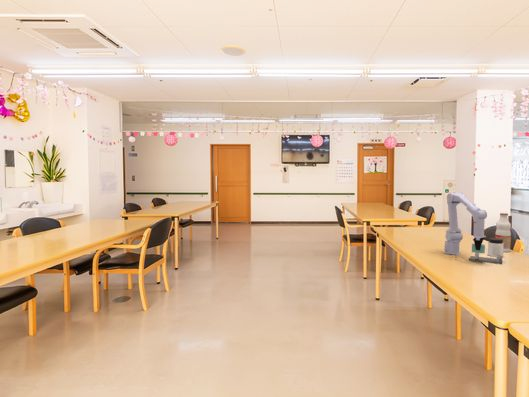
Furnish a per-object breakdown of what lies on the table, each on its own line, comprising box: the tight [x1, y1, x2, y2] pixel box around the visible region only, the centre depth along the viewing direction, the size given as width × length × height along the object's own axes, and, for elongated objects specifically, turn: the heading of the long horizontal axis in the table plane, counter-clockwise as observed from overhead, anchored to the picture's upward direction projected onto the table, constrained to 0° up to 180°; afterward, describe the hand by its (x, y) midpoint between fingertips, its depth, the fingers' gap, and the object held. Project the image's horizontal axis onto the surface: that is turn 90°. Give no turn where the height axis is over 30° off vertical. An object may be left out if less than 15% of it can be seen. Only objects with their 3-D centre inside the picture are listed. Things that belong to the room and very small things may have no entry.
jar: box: [487, 237, 504, 258], centre depth 240 cm, size 9×8×12 cm
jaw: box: [474, 253, 480, 259], centre depth 231 cm, size 2×8×4 cm, turn 145°
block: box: [471, 243, 486, 254], centre depth 224 cm, size 7×4×5 cm, turn 55°
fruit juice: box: [494, 212, 512, 253], centre depth 255 cm, size 9×9×28 cm
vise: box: [469, 254, 503, 265], centre depth 228 cm, size 18×10×4 cm, turn 55°
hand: (478, 249), depth 224 cm, fingers closed on block, 4 cm apart
